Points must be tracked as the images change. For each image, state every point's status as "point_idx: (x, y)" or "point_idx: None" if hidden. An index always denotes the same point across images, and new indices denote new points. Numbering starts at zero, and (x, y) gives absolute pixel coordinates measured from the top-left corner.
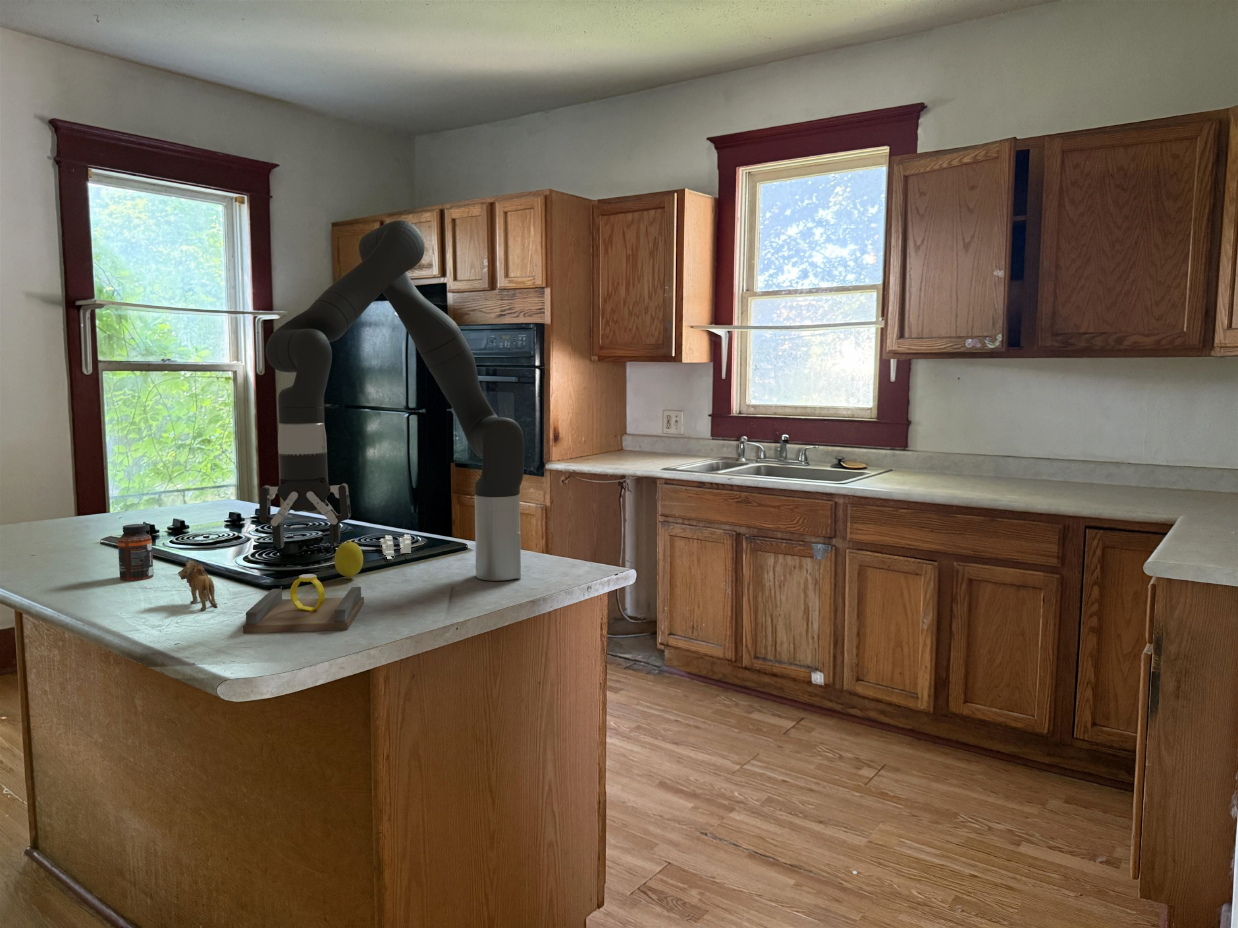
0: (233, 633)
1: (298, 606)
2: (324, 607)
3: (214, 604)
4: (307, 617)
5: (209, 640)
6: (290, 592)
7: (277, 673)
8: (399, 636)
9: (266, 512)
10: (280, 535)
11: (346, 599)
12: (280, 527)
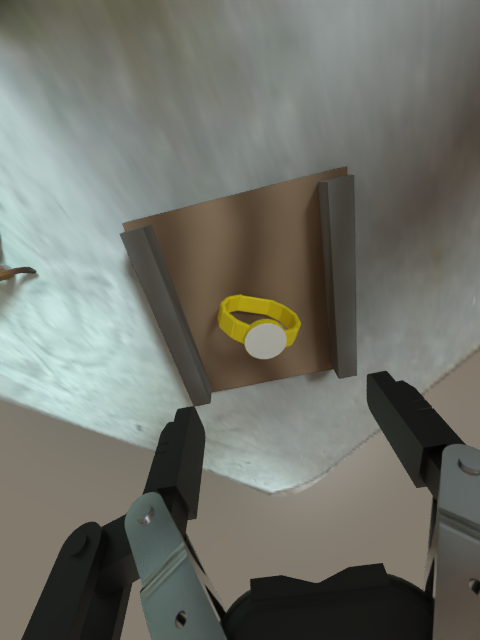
0: (181, 388)
1: (237, 309)
2: (280, 281)
3: (22, 271)
4: None
5: (170, 414)
6: (218, 321)
7: (309, 480)
8: (429, 376)
9: (120, 627)
10: (200, 477)
11: (344, 312)
12: (194, 510)
